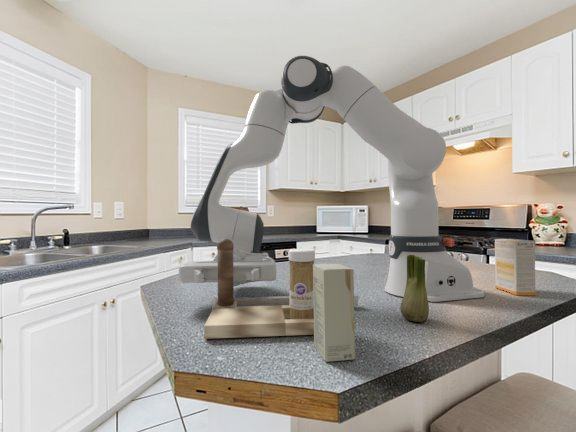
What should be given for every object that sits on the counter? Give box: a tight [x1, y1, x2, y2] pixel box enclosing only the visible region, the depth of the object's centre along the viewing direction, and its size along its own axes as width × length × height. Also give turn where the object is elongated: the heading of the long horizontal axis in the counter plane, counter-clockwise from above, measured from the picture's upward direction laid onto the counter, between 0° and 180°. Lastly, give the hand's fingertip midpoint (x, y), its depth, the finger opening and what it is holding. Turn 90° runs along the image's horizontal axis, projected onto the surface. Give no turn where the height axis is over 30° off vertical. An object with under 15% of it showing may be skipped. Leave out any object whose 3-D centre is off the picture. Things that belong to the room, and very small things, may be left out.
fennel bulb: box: [399, 255, 430, 323], centre depth 58 cm, size 6×5×12 cm
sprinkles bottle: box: [288, 248, 316, 319], centre depth 56 cm, size 5×5×14 cm
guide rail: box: [211, 293, 359, 311], centre depth 66 cm, size 30×2×2 cm, turn 95°
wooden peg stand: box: [203, 239, 314, 340], centre depth 57 cm, size 20×14×15 cm
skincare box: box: [313, 263, 356, 363], centre depth 45 cm, size 6×4×12 cm
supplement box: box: [494, 238, 536, 296], centre depth 79 cm, size 8×5×13 cm, turn 179°
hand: (225, 278), depth 61 cm, fingers open, 8 cm apart
